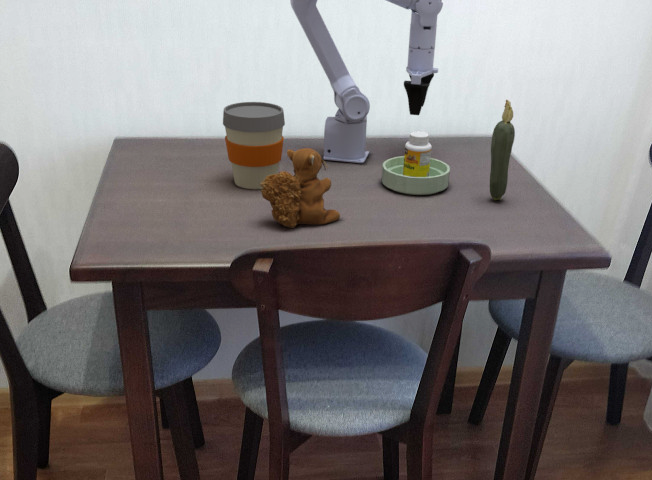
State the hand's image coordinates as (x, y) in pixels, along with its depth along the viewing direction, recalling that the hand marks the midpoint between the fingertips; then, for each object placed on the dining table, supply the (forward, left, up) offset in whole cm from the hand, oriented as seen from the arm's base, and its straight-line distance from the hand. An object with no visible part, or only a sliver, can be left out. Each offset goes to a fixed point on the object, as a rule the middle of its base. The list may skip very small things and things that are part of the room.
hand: (416, 110), depth 176 cm
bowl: (+3, -20, -10) cm, 23 cm away
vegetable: (+20, -25, -11) cm, 34 cm away
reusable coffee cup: (-30, -28, -11) cm, 43 cm away
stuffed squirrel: (-16, -46, -11) cm, 50 cm away
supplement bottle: (+3, -20, -10) cm, 23 cm away
